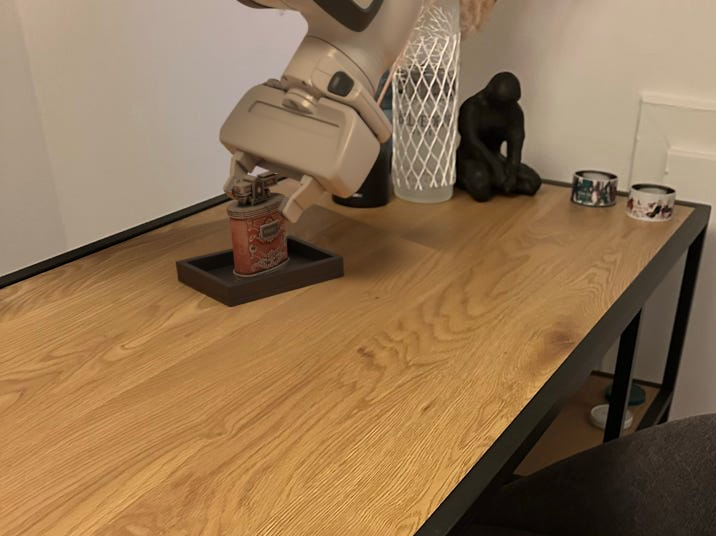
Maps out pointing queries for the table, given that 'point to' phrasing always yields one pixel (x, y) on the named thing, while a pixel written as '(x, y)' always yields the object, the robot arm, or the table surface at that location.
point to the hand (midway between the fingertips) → (257, 207)
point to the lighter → (257, 228)
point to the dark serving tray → (218, 276)
